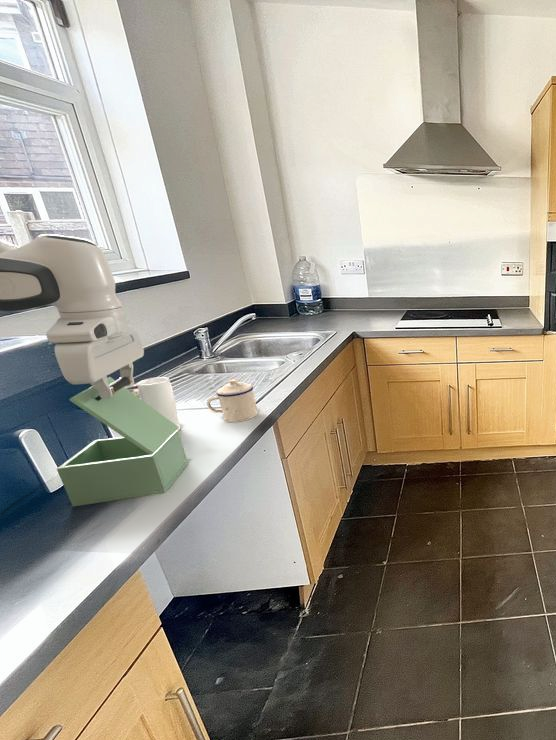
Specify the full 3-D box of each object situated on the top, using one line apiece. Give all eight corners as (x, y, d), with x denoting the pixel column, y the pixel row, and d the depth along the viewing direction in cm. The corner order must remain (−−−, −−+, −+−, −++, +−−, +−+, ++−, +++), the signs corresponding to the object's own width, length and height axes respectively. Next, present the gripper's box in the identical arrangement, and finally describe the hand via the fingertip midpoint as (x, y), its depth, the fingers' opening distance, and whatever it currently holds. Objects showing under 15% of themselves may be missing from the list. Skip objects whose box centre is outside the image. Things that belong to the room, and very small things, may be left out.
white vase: (152, 431, 115) (135, 380, 110) (182, 424, 120) (168, 375, 114) (154, 439, 111) (136, 387, 105) (185, 431, 115) (170, 381, 110)
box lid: (68, 399, 77) (89, 383, 78) (106, 378, 89) (125, 364, 89) (150, 455, 85) (169, 440, 85) (176, 429, 96) (193, 416, 96)
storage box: (72, 506, 83) (56, 468, 80) (108, 474, 94) (94, 439, 92) (165, 492, 88) (152, 456, 85) (188, 463, 99) (178, 430, 96)
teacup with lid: (259, 408, 130) (251, 373, 126) (258, 419, 123) (250, 382, 119) (213, 416, 125) (203, 379, 121) (209, 427, 117) (199, 389, 113)
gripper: (106, 315, 88) (126, 376, 93) (38, 336, 70) (66, 411, 75) (142, 314, 90) (160, 374, 95) (84, 333, 72) (109, 407, 76)
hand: (118, 390), depth 85 cm, fingers closed on box lid, 6 cm apart
